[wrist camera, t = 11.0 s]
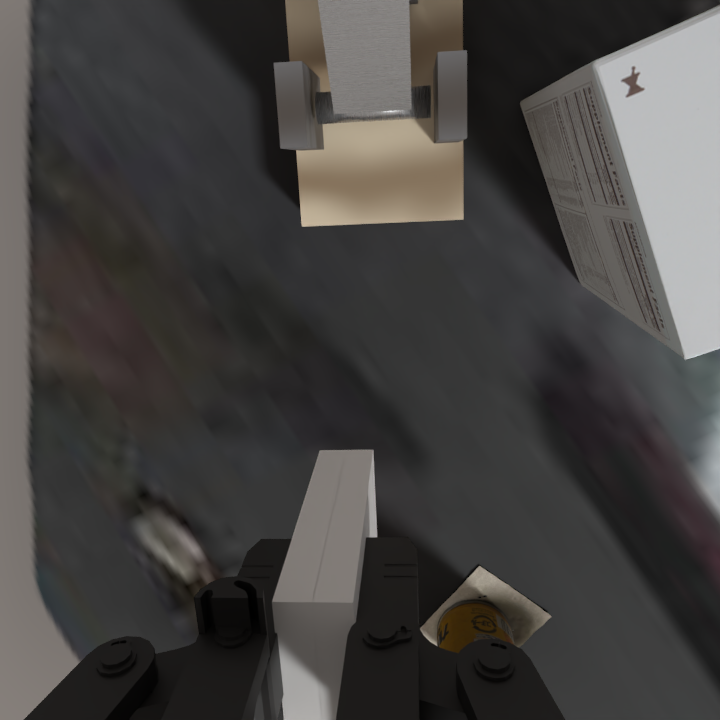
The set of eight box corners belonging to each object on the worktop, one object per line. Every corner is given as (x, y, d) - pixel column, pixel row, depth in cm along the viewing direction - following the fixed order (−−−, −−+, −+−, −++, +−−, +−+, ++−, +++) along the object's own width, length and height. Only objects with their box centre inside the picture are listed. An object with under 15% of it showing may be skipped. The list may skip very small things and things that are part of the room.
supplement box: (578, 290, 44) (679, 367, 28) (515, 100, 41) (586, 58, 24) (779, 215, 42) (1022, 250, 25) (728, 7, 39) (968, -111, 22)
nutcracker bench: (458, 214, 43) (473, 230, 33) (311, 221, 44) (282, 238, 34) (457, -97, 38) (473, -189, 28) (290, -83, 39) (248, -168, 29)
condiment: (414, 633, 53) (415, 761, 42) (479, 564, 51) (499, 679, 40) (483, 679, 54) (503, 817, 43) (550, 613, 52) (590, 740, 40)
